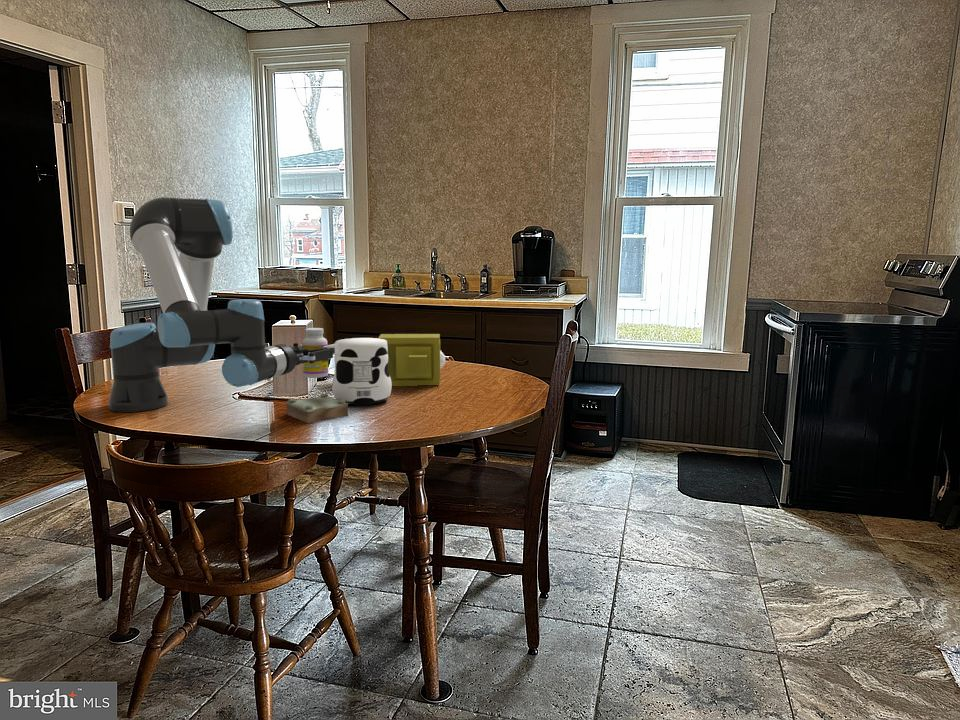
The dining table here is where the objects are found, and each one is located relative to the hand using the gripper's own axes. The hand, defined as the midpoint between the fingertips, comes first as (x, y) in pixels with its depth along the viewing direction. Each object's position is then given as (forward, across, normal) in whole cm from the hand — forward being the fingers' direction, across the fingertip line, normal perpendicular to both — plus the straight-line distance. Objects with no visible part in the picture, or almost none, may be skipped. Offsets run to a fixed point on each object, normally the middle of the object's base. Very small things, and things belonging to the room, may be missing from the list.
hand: (325, 347), depth 187 cm
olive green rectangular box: (+37, +2, -18) cm, 41 cm away
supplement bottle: (-5, 0, -7) cm, 9 cm away
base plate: (-5, 0, -18) cm, 19 cm away
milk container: (+14, +4, -18) cm, 23 cm away
